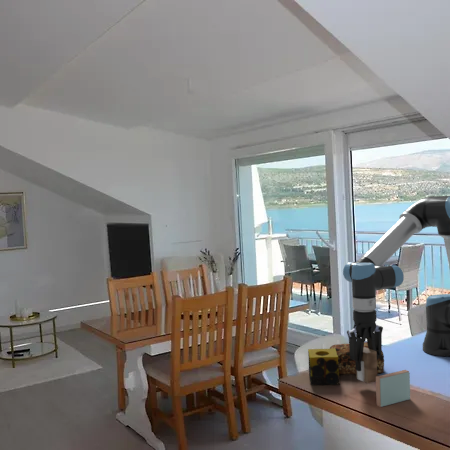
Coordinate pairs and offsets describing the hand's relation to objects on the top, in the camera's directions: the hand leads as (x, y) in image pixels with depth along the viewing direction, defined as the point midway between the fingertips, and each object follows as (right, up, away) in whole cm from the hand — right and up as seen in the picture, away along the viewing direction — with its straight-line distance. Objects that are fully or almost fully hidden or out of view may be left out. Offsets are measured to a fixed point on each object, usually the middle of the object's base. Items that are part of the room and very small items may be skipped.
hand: (366, 378), depth 170 cm
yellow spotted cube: (-12, -4, +10) cm, 17 cm away
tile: (+5, -4, -11) cm, 13 cm away
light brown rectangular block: (0, 0, 0) cm, 0 cm away
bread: (+2, -3, +19) cm, 19 cm away
